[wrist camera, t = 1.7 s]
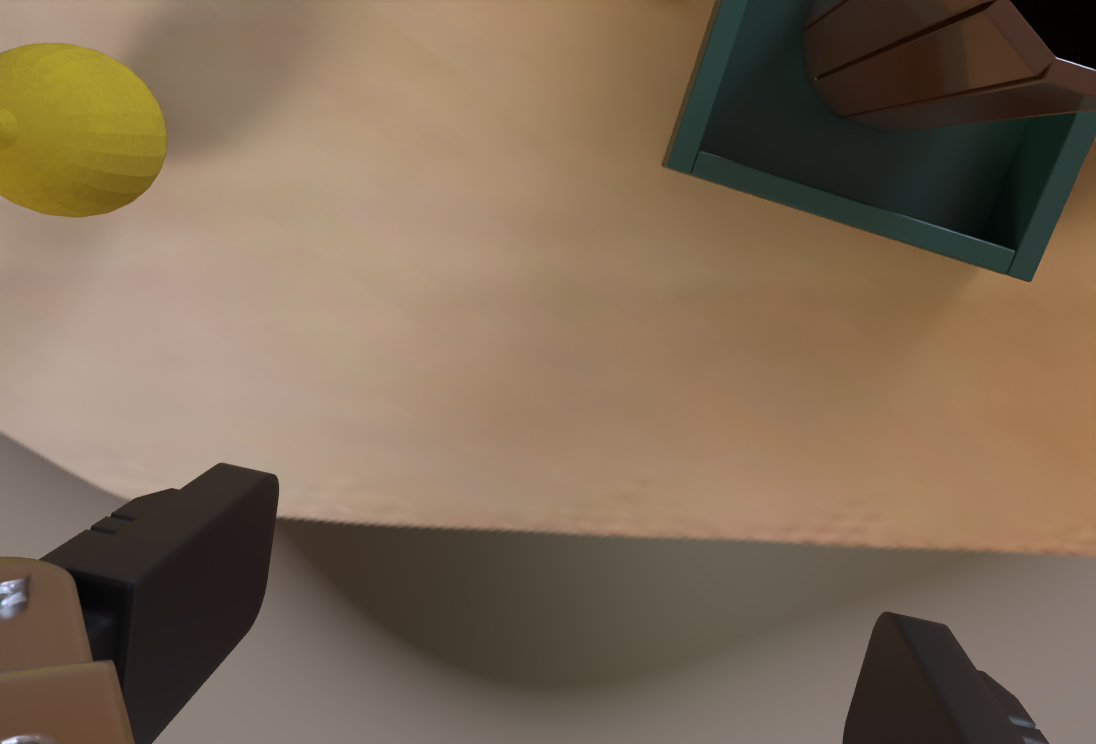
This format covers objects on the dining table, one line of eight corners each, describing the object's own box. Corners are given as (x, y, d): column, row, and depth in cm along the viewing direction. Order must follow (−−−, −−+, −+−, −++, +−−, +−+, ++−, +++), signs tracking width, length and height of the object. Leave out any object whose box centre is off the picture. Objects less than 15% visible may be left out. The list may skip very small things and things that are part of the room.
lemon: (189, 49, 34) (61, 17, 26) (214, 204, 35) (99, 217, 27) (45, 64, 35) (-122, 36, 27) (75, 217, 36) (-78, 232, 28)
